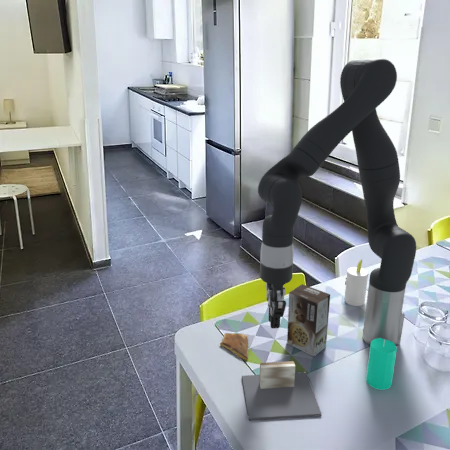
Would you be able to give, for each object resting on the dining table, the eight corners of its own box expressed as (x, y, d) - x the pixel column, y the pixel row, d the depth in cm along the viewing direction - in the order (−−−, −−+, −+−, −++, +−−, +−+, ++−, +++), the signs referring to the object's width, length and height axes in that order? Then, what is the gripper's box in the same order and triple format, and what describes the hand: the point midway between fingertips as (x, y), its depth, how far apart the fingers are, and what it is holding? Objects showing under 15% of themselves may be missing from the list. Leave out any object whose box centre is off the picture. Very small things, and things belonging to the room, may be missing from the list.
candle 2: (388, 393, 109) (394, 350, 105) (362, 384, 112) (368, 342, 108) (394, 378, 114) (400, 337, 109) (369, 370, 117) (375, 329, 112)
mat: (306, 374, 115) (306, 372, 115) (321, 415, 102) (321, 413, 102) (242, 377, 114) (242, 375, 114) (249, 420, 101) (249, 418, 101)
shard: (247, 363, 120) (247, 357, 120) (218, 362, 121) (218, 356, 120) (248, 338, 130) (248, 333, 130) (221, 338, 131) (221, 332, 130)
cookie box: (327, 346, 126) (331, 294, 120) (313, 357, 122) (318, 303, 116) (299, 333, 132) (302, 283, 126) (285, 343, 127) (288, 291, 122)
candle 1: (348, 293, 153) (352, 252, 148) (367, 299, 149) (372, 257, 144) (340, 301, 148) (344, 259, 143) (360, 308, 145) (365, 264, 139)
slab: (292, 381, 112) (293, 361, 110) (294, 386, 110) (295, 366, 108) (259, 383, 111) (260, 362, 109) (260, 388, 110) (261, 367, 107)
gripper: (299, 272, 101) (295, 340, 107) (286, 247, 113) (283, 308, 120) (265, 274, 100) (263, 341, 106) (256, 248, 113) (254, 310, 119)
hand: (274, 324), depth 113 cm, fingers closed
